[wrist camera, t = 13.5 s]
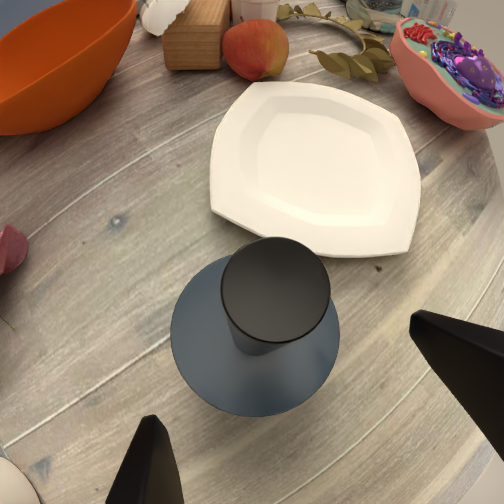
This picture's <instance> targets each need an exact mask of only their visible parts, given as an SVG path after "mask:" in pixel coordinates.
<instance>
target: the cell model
mask: <svg viewBox="0 0 504 504" xmlns="http://www.w3.org/2000/svg"><path fill="white" fill-rule="evenodd" d="M389 50H390V53H391V56H392V58H393V60H394V62H395V64H396V66H397V68H398V71H399V73H400V75H401V78H402V80H403V82H404V84H405V86H406V88H407V90H408V92H409V94H410V95H411V97H412V98H413V99H414V100H415V101H417V102H418V103H420V104H421V105H423V106H425V107H427V108H428V109H430V110H431V111H432V112H433V113H434V114H435V115H436V116H438V117H439V118H440V119H441V120H443V121H444V122H446V123H449V124H451V125H453V126H455V127H457V128H459V129H462V130H468V131H469V130H478V129H488V128H491V127H494V126H496V125H498V124H500V123H503V122H504V77H503V75H502V74H501V72H500V71H499V70H498V69H497V68H496V67H495V66H494V65H493V64H492V62H490V61H489V60H488V59H487V58H486V57H485V56H484V54H483V50H481V49H480V50H479V51H478V50H477V49H476V48H474V47H473V46H472V45H471V44H469V43H468V42H466V41H465V40H464V39H462V35H461V34H460V33H459V32H457V33H454V32H452V31H451V30H449V29H447V28H445V27H443V26H441V25H440V24H439V23H437V22H431V21H428V20H425V19H422V18H418V17H407V18H405V19H403V20H401V21H399V22H397V23H396V28H395V32H394V36H393V38H392V40H391V43H390V45H389Z"/></svg>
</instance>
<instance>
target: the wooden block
mask: <svg viewBox="0 0 504 504" xmlns="http://www.w3.org/2000/svg"><path fill="white" fill-rule="evenodd" d="M184 12H185V13H183V12H181V13H178V15H176V19H175V21H172V24H170V25H169V24H168V28H167V29H165V30H164V33H163V34H162V43H163V51H164V59H165V66H166V68H167V69H168V70H191V69H219V68H220V66H221V64H222V58H223V52H222V38H223V36H224V34H225V33H226V31H228V28H229V14H230V0H191V2H189V4H188V5H187V6H185V9H184Z"/></svg>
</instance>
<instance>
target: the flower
mask: <svg viewBox="0 0 504 504" xmlns="http://www.w3.org/2000/svg"><path fill="white" fill-rule="evenodd" d="M27 251H28V241H27V238H26V237H25V236H24V235H23V234H22V233H21V232H19V231H17V229H16V228H15V227H14V226H13V225H11V224H6V226H5V227H4V228H3V229H2V232H1V231H0V275H1V274H5V273H7V272H9V271H11V270H13V269H15V268H16V267H17V266H18V265H20V264H21V263H22V262H23V260H24V259H25V257H26V255H27ZM0 317H1V316H0ZM1 318H2V317H1ZM2 319H3V318H2ZM3 320H4V319H3ZM4 321H5V320H4ZM5 322H6V321H5ZM6 323H7V322H6ZM7 324H8V323H7ZM8 325H9V326H10V327H11V328H12V326H11V325H10V324H8ZM12 329H13V328H12ZM13 330H14V329H13ZM14 331H15V330H14ZM15 332H16V331H15Z"/></svg>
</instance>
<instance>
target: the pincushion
mask: <svg viewBox="0 0 504 504" xmlns="http://www.w3.org/2000/svg"><path fill="white" fill-rule="evenodd" d="M143 1H145V0H143ZM145 2H146V1H145ZM145 2H144V3H145ZM189 2H191V0H153V2H151V3H150V4H149V5H148V4H147V5H148V6H147V5H146V6H147V8H146V11H145V12H144V14H143V16H142V25H143V29H144V28H145V29H147V31H148V32H150V33H153V34H154V35H157V36H160V35H162V34H163V33H164V30H165V29H167V28H168V24H169V25H170V24H172V21H175V19H176V15H178V13H181V12H183V13H185V12H184V9H185V6H187V5H188V4H189ZM146 3H147V2H146ZM146 3H145V4H146Z"/></svg>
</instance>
